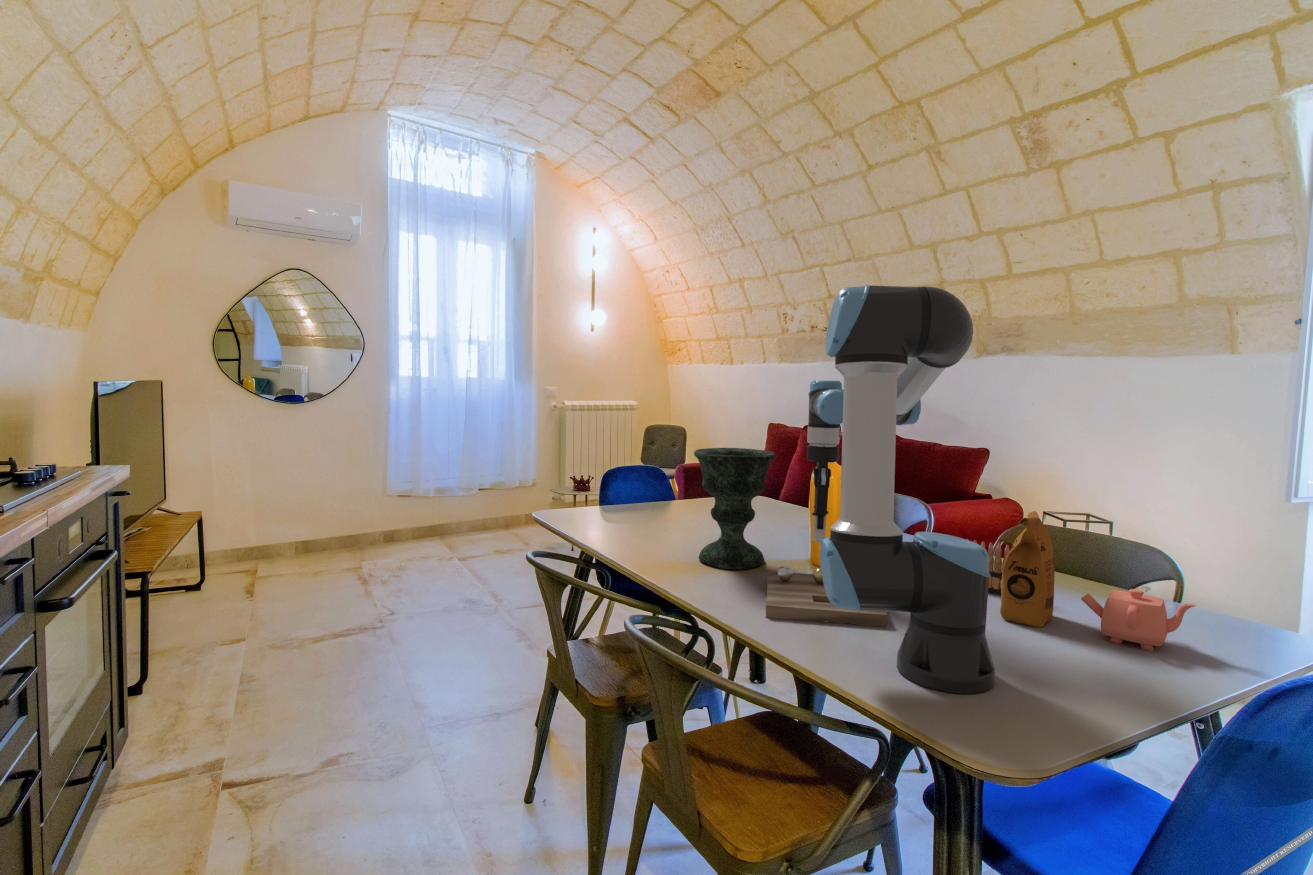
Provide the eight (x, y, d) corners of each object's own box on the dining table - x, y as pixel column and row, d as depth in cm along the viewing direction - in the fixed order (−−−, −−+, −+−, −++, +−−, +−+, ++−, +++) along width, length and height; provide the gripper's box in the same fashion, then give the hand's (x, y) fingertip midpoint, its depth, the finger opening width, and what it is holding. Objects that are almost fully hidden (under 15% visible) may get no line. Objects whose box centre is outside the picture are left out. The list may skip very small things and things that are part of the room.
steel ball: (792, 583, 154) (793, 568, 154) (777, 582, 155) (777, 567, 154) (792, 578, 157) (792, 564, 157) (777, 577, 158) (777, 563, 158)
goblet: (681, 567, 175) (684, 453, 172) (701, 547, 196) (704, 446, 194) (766, 576, 168) (770, 457, 166) (777, 554, 190) (780, 449, 187)
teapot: (1115, 652, 123) (1119, 599, 122) (1076, 629, 135) (1079, 580, 134) (1193, 655, 123) (1198, 601, 122) (1147, 631, 135) (1151, 582, 134)
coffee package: (991, 618, 140) (997, 515, 139) (1007, 604, 150) (1013, 507, 148) (1044, 631, 134) (1052, 522, 132) (1058, 615, 143) (1065, 514, 141)
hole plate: (886, 626, 134) (887, 614, 134) (765, 617, 138) (766, 605, 138) (869, 588, 160) (869, 578, 159) (767, 581, 164) (768, 571, 164)
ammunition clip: (1009, 594, 157) (1012, 544, 156) (1007, 596, 156) (1011, 545, 155) (961, 585, 164) (964, 537, 163) (959, 587, 162) (962, 538, 161)
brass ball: (828, 585, 153) (829, 570, 152) (812, 584, 153) (813, 569, 153) (827, 581, 156) (827, 566, 156) (811, 580, 157) (812, 565, 156)
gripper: (841, 448, 153) (837, 549, 155) (837, 442, 166) (832, 536, 168) (808, 446, 154) (804, 547, 157) (806, 441, 167) (802, 534, 169)
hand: (819, 541), depth 162 cm, fingers closed
